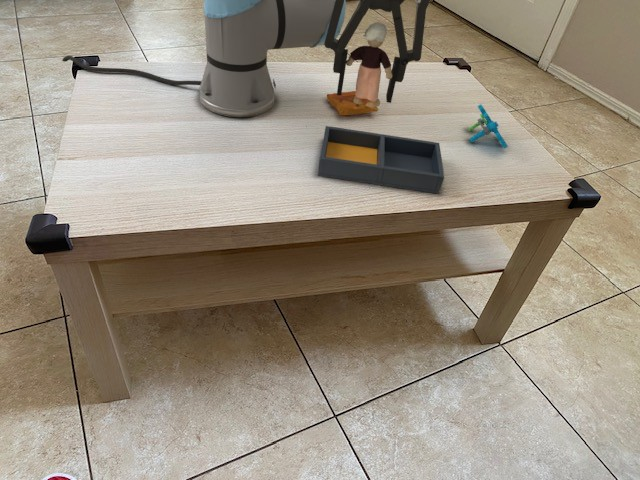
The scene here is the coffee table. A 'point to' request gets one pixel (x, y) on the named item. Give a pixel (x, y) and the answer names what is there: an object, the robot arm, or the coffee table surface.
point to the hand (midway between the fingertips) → (364, 95)
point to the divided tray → (381, 160)
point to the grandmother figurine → (370, 65)
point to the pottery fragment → (348, 104)
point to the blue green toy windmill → (486, 127)
